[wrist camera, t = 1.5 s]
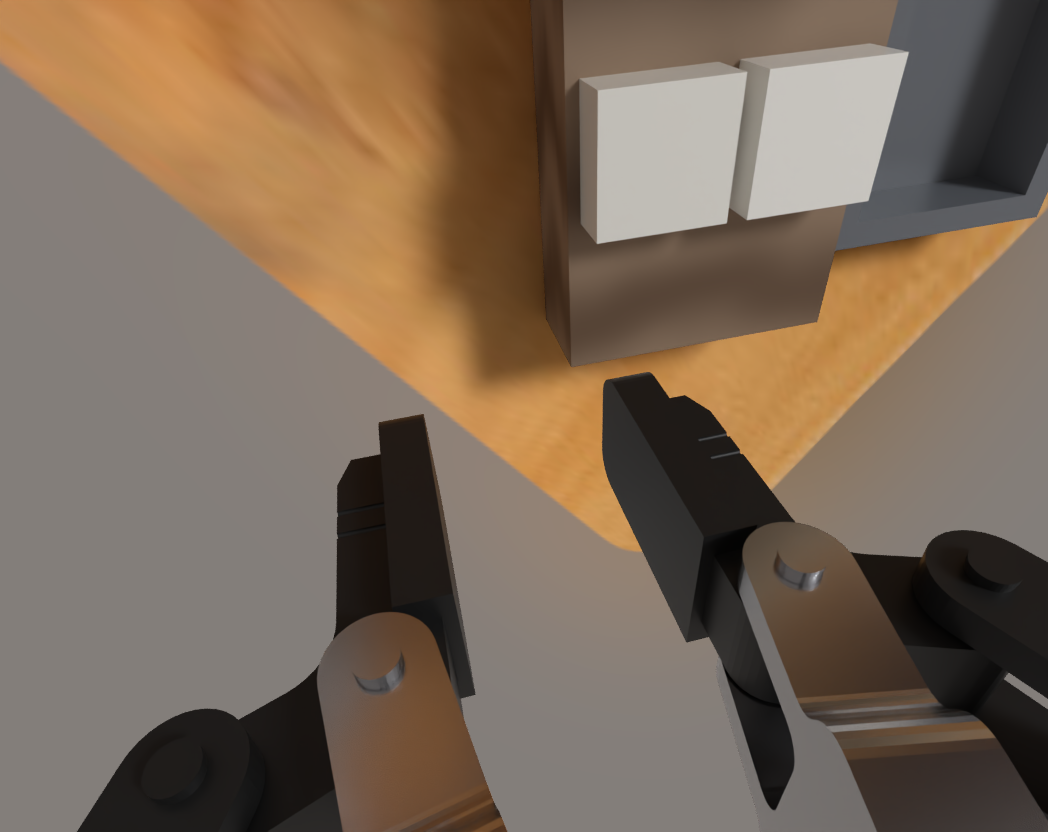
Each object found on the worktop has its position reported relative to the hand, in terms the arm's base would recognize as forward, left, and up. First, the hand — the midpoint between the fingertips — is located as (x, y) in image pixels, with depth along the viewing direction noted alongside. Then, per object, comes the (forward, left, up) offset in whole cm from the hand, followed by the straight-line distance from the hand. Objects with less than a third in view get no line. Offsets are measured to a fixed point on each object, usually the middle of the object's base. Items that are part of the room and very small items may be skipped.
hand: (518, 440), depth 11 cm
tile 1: (0, +8, -15) cm, 17 cm away
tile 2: (0, +14, -15) cm, 20 cm away
